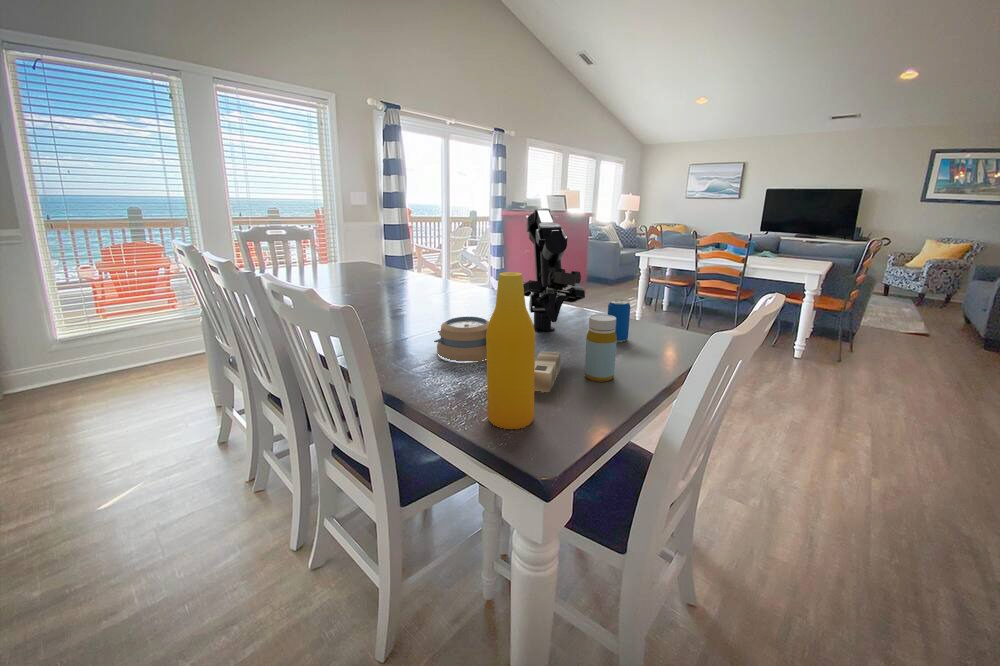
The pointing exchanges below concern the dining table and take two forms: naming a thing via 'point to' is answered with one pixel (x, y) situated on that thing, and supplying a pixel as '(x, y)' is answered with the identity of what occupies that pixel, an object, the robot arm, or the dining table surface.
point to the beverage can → (620, 317)
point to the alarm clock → (463, 339)
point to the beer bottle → (510, 357)
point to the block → (546, 370)
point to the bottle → (601, 348)
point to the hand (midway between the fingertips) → (554, 322)
